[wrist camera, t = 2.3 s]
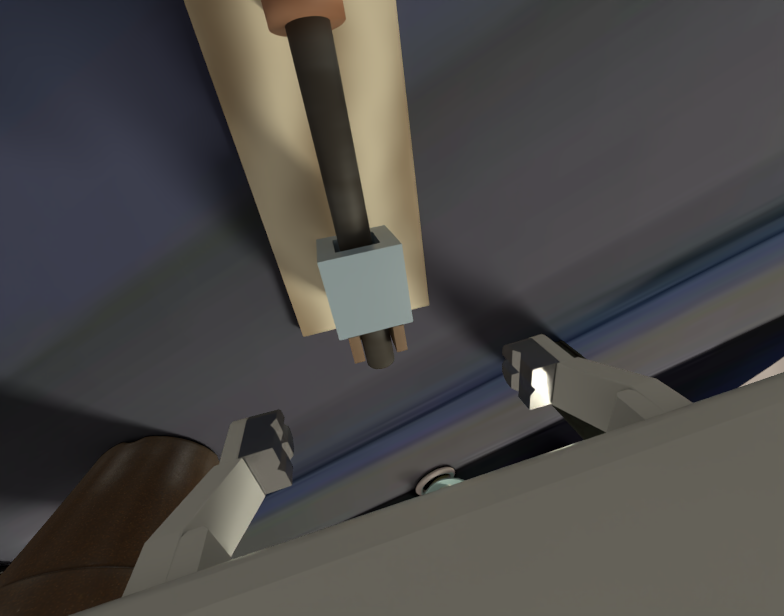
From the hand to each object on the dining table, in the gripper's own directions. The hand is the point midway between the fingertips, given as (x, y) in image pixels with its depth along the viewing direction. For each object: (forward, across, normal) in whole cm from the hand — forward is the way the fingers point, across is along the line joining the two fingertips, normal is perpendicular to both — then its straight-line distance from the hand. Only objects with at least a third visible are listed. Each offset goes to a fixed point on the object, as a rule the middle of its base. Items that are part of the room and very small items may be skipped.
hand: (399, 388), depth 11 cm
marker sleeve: (+12, 0, 0) cm, 12 cm away
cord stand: (+18, 0, -6) cm, 19 cm away
